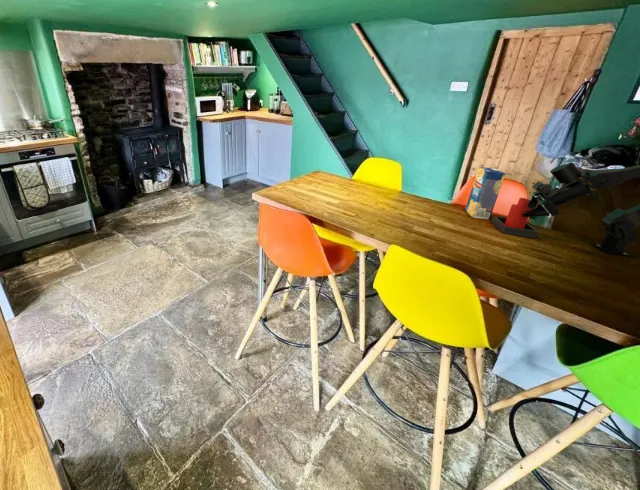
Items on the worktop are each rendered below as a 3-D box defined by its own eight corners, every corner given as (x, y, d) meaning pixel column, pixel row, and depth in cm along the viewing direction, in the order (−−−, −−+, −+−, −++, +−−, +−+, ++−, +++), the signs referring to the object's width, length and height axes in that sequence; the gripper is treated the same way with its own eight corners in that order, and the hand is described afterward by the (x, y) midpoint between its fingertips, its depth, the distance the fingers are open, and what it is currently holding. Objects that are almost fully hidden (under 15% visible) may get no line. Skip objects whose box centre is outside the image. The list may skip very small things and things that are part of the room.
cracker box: (480, 212, 149) (495, 168, 141) (489, 219, 139) (505, 173, 131) (465, 209, 151) (478, 166, 143) (472, 217, 141) (487, 171, 133)
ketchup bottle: (526, 232, 125) (539, 202, 121) (510, 231, 126) (522, 200, 121) (515, 226, 131) (527, 197, 127) (500, 225, 132) (511, 196, 127)
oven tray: (535, 238, 121) (538, 231, 120) (503, 233, 125) (505, 226, 124) (520, 226, 133) (523, 220, 132) (491, 222, 136) (493, 215, 135)
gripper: (547, 172, 125) (505, 192, 134) (560, 180, 110) (511, 202, 119) (565, 194, 124) (522, 212, 133) (580, 205, 109) (530, 225, 118)
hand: (521, 212), depth 126 cm, fingers open, 9 cm apart
